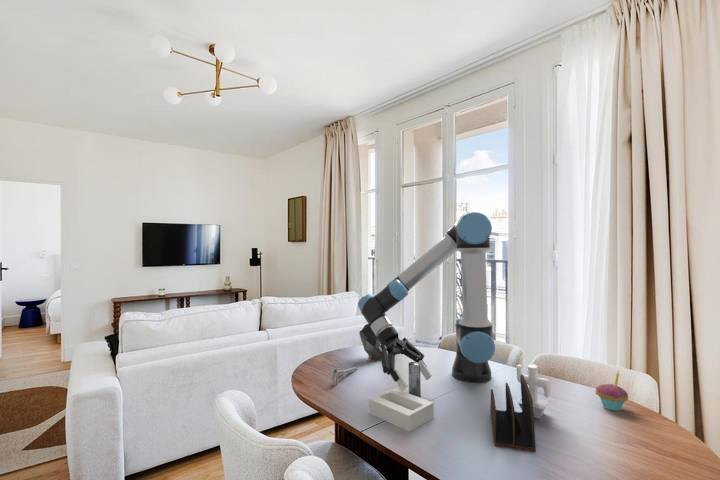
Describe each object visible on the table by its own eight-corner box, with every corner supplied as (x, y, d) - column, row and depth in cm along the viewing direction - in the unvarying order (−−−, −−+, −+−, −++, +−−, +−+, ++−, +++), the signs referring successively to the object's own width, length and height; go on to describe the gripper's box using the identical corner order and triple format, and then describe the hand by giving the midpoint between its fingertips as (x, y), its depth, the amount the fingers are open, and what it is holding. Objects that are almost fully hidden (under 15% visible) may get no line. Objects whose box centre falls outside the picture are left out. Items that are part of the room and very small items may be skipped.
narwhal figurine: (360, 354, 174) (359, 317, 174) (392, 354, 174) (391, 317, 174) (359, 364, 160) (358, 323, 160) (393, 364, 159) (393, 323, 160)
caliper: (334, 387, 134) (334, 370, 135) (332, 387, 135) (332, 370, 135) (357, 369, 153) (357, 355, 154) (355, 369, 154) (355, 354, 154)
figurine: (548, 423, 105) (546, 371, 106) (514, 413, 111) (513, 365, 112) (553, 413, 111) (552, 365, 111) (521, 405, 117) (520, 359, 117)
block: (369, 413, 113) (369, 398, 113) (394, 401, 121) (394, 388, 121) (409, 431, 102) (408, 415, 102) (433, 417, 110) (433, 402, 110)
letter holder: (524, 417, 110) (523, 370, 110) (536, 453, 91) (534, 397, 91) (490, 412, 113) (489, 367, 113) (494, 447, 94) (493, 392, 94)
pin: (421, 396, 125) (420, 362, 125) (420, 401, 121) (419, 366, 121) (409, 395, 126) (409, 361, 126) (408, 400, 122) (407, 365, 122)
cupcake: (622, 403, 117) (622, 367, 117) (633, 415, 109) (632, 376, 109) (592, 400, 120) (591, 364, 120) (600, 411, 112) (599, 373, 112)
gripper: (401, 331, 144) (432, 379, 133) (355, 343, 127) (387, 399, 116) (411, 320, 140) (444, 368, 129) (365, 331, 123) (399, 388, 112)
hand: (417, 383), depth 122 cm, fingers open, 13 cm apart
